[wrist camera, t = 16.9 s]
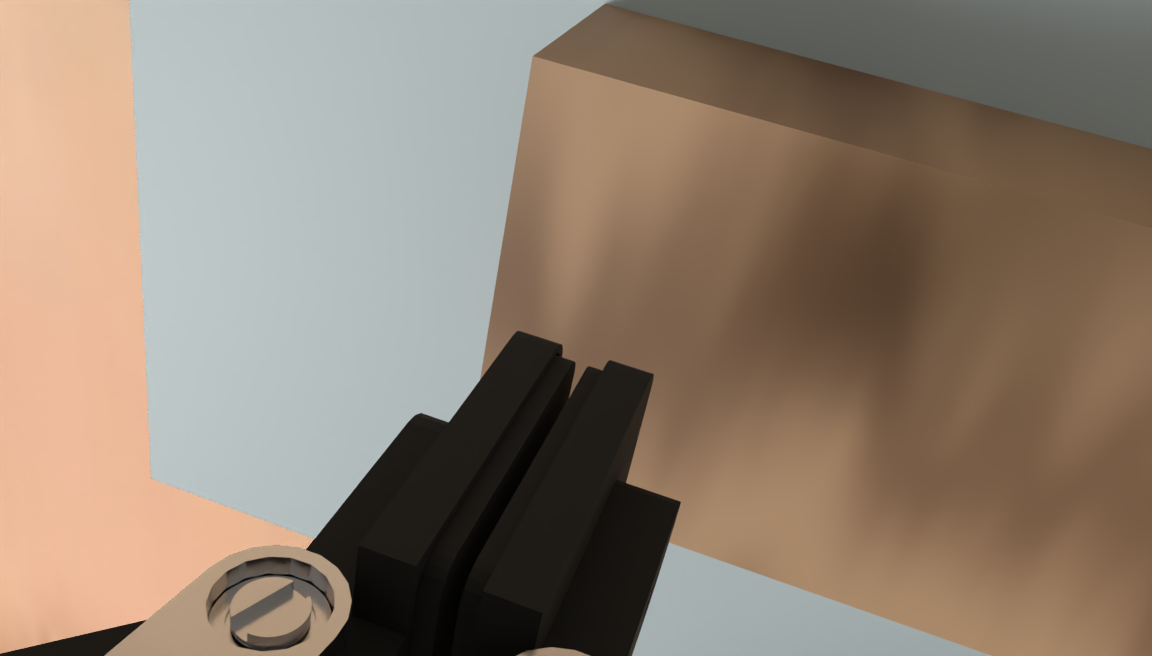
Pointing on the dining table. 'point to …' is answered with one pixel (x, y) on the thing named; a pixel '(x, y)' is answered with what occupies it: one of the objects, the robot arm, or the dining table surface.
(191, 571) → the dining table surface
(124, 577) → the dining table surface
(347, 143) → the board
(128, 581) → the dining table surface
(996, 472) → the walnut slab
